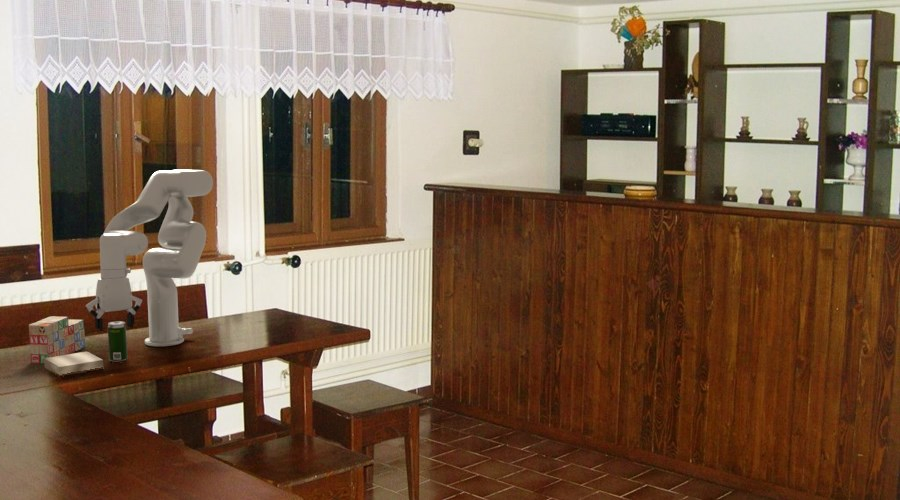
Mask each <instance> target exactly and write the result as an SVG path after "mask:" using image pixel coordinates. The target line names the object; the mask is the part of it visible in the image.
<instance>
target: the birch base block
mask: <svg viewBox="0 0 900 500" xmlns="http://www.w3.org/2000/svg"><path fill="white" fill-rule="evenodd" d="M44 362H45V364H44V369H46V368H47V369H49V370H52V371H53V372H55V373H57V374H59V375H62V374H67V373H71V372H77V371H84V370H90V369H95V368H101V367H103V368H104V359H102V358H100V357H98V356H96V355H95V354H93V353H91V352H89V351H81V352H73V353H71V354H68V355H62V356H55V357H49V358H44ZM47 369H46V370H47ZM49 370H48V371H49Z"/></svg>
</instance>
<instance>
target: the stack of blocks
mask: <svg viewBox="0 0 900 500" xmlns="http://www.w3.org/2000/svg"><path fill="white" fill-rule="evenodd" d="M84 323H85V322H84V319H71V318H70V319H69V316H55V315H53V316H48V317H46V318H42V319H40V320H38V321H36V322H33V323H29V324H28V331H29V332H28V333H29V334H28V335H29V336H28V339H29V348H30V349H29V350H30V351H29V352H30V363H31V364H44V363H45V362H44V358H49V357H55V356H62V355H68V354H74V353H76V352H77V351H79V350H82V349H85V348H86V339H85V337H86V335H85V334H86V333H85V325H84ZM75 351H76V352H75Z"/></svg>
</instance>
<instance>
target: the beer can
mask: <svg viewBox="0 0 900 500" xmlns="http://www.w3.org/2000/svg"><path fill="white" fill-rule="evenodd" d="M107 325H108V326H107V337H108V339H107V341H108V343H107V344H108V358H109V359H108V360H109V362H111V361H115V362H116V361H123V360H126V359H127V360H128V342H127V324H126V322H125V321H121V320H117V321H110V322H108V324H107ZM127 360H126V361H127Z"/></svg>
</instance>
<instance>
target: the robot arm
mask: <svg viewBox="0 0 900 500" xmlns="http://www.w3.org/2000/svg"><path fill="white" fill-rule="evenodd" d="M213 186H214V179H213V177H212V175H211V173H209V171H207V170H203V169H172V170H157V171H155V172H154V173H153V174H152V175H151V176H150V177H149V179H148V181H147V182H146V184H145V186H144V188H143V190H142V191H141V193H140V194H139V196H138V197H137V199H136V201H135V202H134V203H132V204H131V205H129V206H127V207H126V208H124V209H122V211H120V212H118V213H117V214H116V215H115V216H113V217H112V218H111V220H110V221H109V222H108V225H107V226H106V228H105V230H104V232H103V234H101V236H100V238H99V260H100V261H99V262H100V264H99V265H100V277H99V278H97V281H96V288H95V289H96V291H95V299H93V300H91V301H89V302H88V303H87V304H85V308H86V309H87V311H88V313H89V314H90V315H91V316H93V318H94V321H95V329H96V330H97V331H98V332H103V331H104V330H103V329H104V326H103V318H102V316H103V315H104V313H106V312H107V313H109V312H116V311H125V310H126V311H127V314H126V327H128V328H131V329H132V328H134V325H135V315H136V314H137V312H138V310H139V309H140V307H141V304H142V302H143V300H142V299H141V298H139V297H137V296H135V295H133V293H132V287H131V282H130V278H129V276H128V274H131V272H132V271H131V269H130V268H127V256H138V255H142V254H144V255H143V257H142V269H143V273H144V276H145V281H146V293H147V311H148V313H147V315H148V333H149V334H148V336H149V337H147V338H145V339H144V344H145V345H146V346H149V347H169V346H176V345H180V344H182V343H184V341H185V338H184V336H185V335H189V334H190V335H191V334H193V333H194V329H193V328H192V327H187V328H186V327H180V326H179V324H180V323H179V306H178V304H179V302H178V301H179V300H178V289H177V288H178V287H177V285H176V283H175V281H174V279H188V278H190V277H191V276H193V275H194V273H195V272H196V270H197V267H198V266H199V265H198V264H199V262H200V259H201V256H202V253H203V251H204V249H205V246H206V242H207V231H206V228H205V226H204V225H203V224H202V223H200V222H198V221H193V217H194V207H193V205H192V203H191V202H190V199H189V198H194V197H202V196H203V197H204V196H206V195H208V194H210V192H212V189H213ZM167 204H168V207H167V211H166V214H165V216H164V219H163V220H162V222H161V223H162V224H161V226H160V229H159V232H158V235H157V241H158V244H159V245H160V246H161V247H154V248H151V249H149V250H147V249H148V246H149V239H148V237H147V235H146V234H144V233H143V232H141V231H138V230H130V229H132V228H134V227H137V226H139V225H142V224H145V223H149V222H152V221H154V220H156V219H157V218H159V217H160V216H161V213H162V212H163V210H164V209H165V206H166V205H167ZM146 250H147V251H146ZM145 251H146V252H145ZM144 252H145V253H144ZM133 301H134V302H135V304H134V305H133ZM94 306H95V309H96V311H95V309H94Z"/></svg>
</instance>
